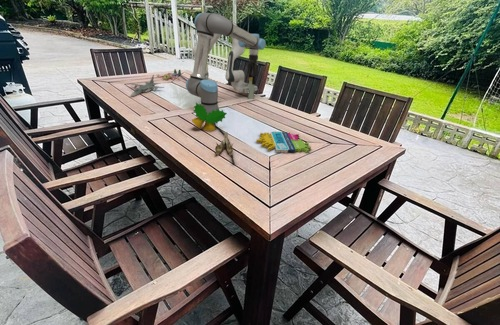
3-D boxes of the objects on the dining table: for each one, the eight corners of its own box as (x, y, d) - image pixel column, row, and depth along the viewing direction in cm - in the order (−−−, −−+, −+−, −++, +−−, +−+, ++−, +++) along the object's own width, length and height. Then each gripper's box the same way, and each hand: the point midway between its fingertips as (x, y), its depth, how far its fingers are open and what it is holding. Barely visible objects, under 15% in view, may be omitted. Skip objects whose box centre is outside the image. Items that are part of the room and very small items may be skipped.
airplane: (124, 86, 238) (122, 75, 233) (160, 84, 251) (158, 74, 246) (129, 99, 209) (126, 86, 204) (168, 96, 223) (167, 84, 217)
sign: (313, 150, 142) (258, 149, 139) (312, 153, 143) (258, 152, 140) (301, 132, 164) (254, 130, 161) (301, 134, 165) (254, 133, 162)
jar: (254, 98, 233) (255, 79, 224) (251, 99, 229) (252, 79, 221) (250, 97, 235) (251, 78, 227) (247, 98, 232) (248, 78, 224)
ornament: (218, 133, 171) (224, 110, 169) (221, 134, 163) (227, 111, 161) (186, 125, 162) (192, 101, 160) (189, 126, 155) (195, 101, 153)
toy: (189, 70, 290) (176, 74, 264) (189, 77, 293) (177, 81, 267) (166, 67, 295) (151, 71, 269) (167, 74, 298) (152, 78, 272)
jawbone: (234, 135, 144) (233, 125, 135) (233, 160, 138) (232, 151, 129) (217, 135, 144) (216, 125, 135) (216, 160, 138) (214, 150, 129)
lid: (251, 79, 228) (252, 77, 227) (256, 80, 225) (256, 78, 224) (247, 80, 225) (247, 77, 224) (251, 81, 221) (252, 79, 220)
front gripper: (263, 56, 210) (261, 85, 221) (251, 53, 223) (250, 80, 234) (255, 56, 206) (253, 86, 217) (244, 53, 219) (242, 81, 231)
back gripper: (233, 84, 231) (242, 88, 221) (252, 83, 242) (261, 86, 232) (233, 91, 234) (241, 95, 224) (252, 89, 245) (260, 93, 235)
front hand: (251, 83), depth 226 cm, fingers closed on lid, 5 cm apart
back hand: (251, 91), depth 228 cm, fingers closed on jar, 5 cm apart
